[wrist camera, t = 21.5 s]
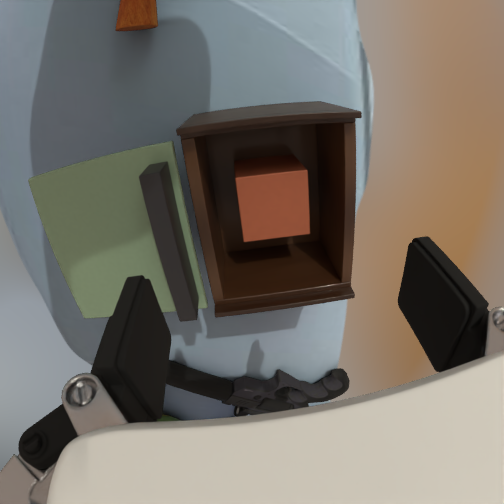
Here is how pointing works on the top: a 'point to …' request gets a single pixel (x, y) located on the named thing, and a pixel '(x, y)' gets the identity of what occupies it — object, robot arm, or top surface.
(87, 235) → the sliding lid
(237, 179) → the terracotta block
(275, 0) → the top surface
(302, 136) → the walnut box
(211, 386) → the revolver
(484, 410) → the robot arm
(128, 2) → the kendama
